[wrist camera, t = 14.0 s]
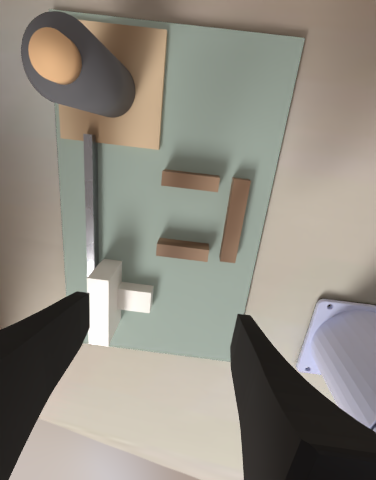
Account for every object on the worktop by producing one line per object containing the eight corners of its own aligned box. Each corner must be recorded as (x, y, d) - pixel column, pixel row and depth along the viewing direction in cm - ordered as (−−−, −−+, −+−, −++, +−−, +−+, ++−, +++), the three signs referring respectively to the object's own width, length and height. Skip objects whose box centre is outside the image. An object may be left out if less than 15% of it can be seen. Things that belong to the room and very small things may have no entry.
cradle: (248, 179, 19) (252, 181, 18) (233, 258, 21) (235, 265, 20) (164, 169, 19) (162, 170, 18) (158, 249, 21) (155, 255, 20)
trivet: (167, 32, 16) (166, 29, 16) (159, 149, 19) (158, 149, 18) (57, 19, 16) (53, 16, 16) (63, 138, 19) (60, 138, 18)
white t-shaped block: (155, 265, 22) (147, 285, 19) (150, 323, 24) (142, 350, 21) (103, 258, 22) (86, 278, 19) (103, 317, 24) (88, 343, 21)
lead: (135, 60, 17) (90, 3, 10) (135, 119, 18) (95, 104, 11) (82, 57, 17) (0, -1, 10) (86, 116, 18) (16, 100, 11)
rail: (97, 135, 19) (91, 134, 18) (99, 319, 24) (95, 326, 23) (89, 134, 19) (83, 133, 18) (93, 318, 24) (88, 325, 23)
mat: (302, 40, 16) (305, 37, 16) (232, 359, 25) (233, 362, 25) (52, 12, 17) (48, 9, 16) (70, 338, 26) (69, 341, 25)
